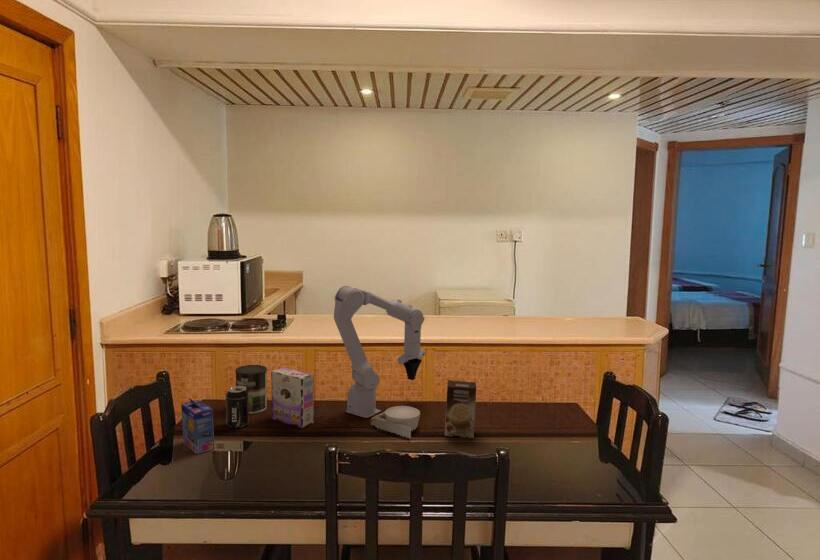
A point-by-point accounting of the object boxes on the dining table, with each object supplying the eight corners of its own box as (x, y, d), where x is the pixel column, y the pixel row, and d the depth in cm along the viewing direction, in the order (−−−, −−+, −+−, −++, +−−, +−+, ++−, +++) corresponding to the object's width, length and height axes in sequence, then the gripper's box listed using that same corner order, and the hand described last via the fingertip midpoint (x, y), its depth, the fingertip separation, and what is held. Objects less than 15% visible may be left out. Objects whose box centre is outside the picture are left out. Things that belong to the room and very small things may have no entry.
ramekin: (379, 423, 172) (379, 407, 172) (410, 418, 177) (411, 403, 176) (392, 437, 162) (392, 420, 161) (425, 431, 167) (425, 415, 166)
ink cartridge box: (181, 443, 154) (180, 395, 152) (200, 438, 158) (199, 391, 156) (195, 455, 147) (194, 405, 145) (214, 449, 151) (213, 400, 149)
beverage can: (240, 431, 163) (239, 393, 162) (221, 427, 165) (220, 390, 164) (253, 422, 170) (252, 386, 168) (235, 419, 172) (234, 384, 170)
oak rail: (370, 425, 170) (370, 418, 170) (395, 413, 181) (395, 406, 181) (374, 426, 169) (374, 419, 169) (398, 414, 180) (399, 407, 180)
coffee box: (444, 436, 163) (446, 386, 161) (445, 428, 170) (446, 379, 167) (474, 438, 162) (476, 388, 160) (473, 430, 169) (475, 381, 167)
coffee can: (259, 415, 176) (258, 374, 174) (230, 412, 178) (229, 372, 176) (272, 404, 186) (271, 365, 184) (244, 402, 188) (244, 363, 186)
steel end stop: (375, 428, 168) (375, 417, 167) (376, 427, 168) (377, 417, 168) (409, 439, 161) (409, 428, 160) (410, 438, 161) (410, 427, 161)
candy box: (314, 423, 171) (314, 373, 169) (301, 429, 166) (301, 378, 164) (284, 413, 178) (283, 366, 176) (270, 419, 173) (270, 370, 171)
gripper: (410, 347, 178) (409, 386, 180) (432, 339, 190) (431, 376, 192) (393, 344, 182) (392, 382, 184) (416, 336, 194) (415, 372, 196)
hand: (411, 379), depth 188 cm, fingers closed
